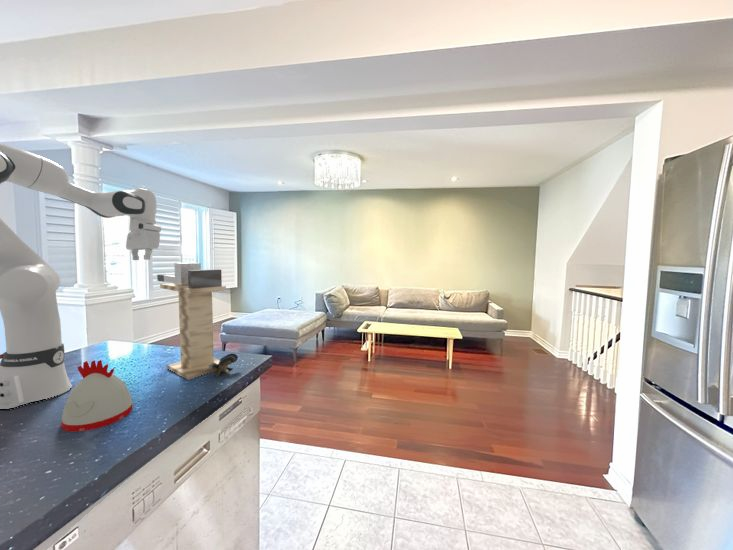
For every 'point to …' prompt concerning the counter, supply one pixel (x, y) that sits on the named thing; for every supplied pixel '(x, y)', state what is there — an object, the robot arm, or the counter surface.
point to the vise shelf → (196, 322)
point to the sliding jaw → (179, 273)
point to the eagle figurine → (223, 364)
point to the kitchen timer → (96, 399)
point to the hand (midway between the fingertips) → (141, 259)
